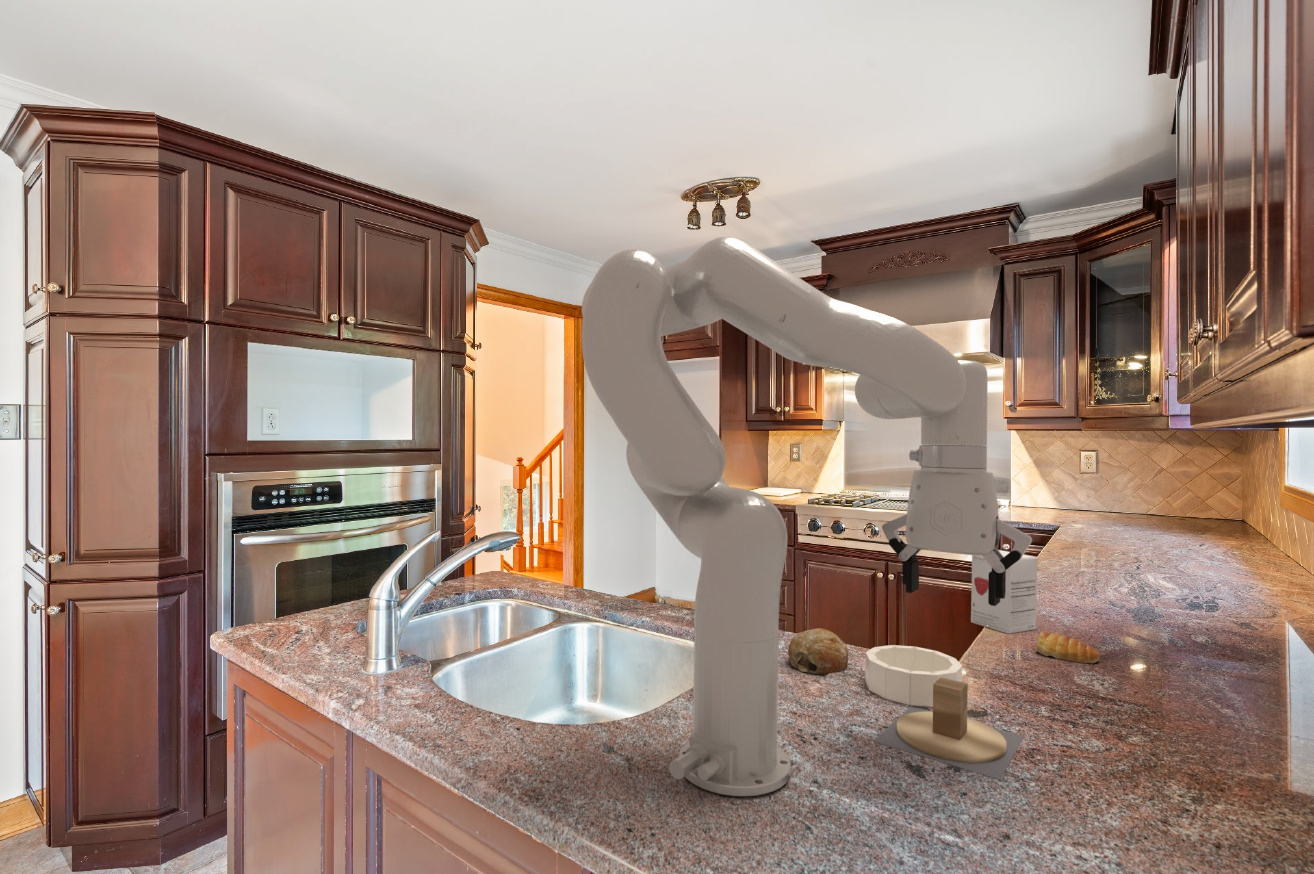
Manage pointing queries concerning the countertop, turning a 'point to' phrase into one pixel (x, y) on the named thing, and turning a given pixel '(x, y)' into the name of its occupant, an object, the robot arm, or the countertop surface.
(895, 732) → the mat
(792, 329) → the robot arm
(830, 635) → the bread roll
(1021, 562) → the supplement box
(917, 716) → the lid
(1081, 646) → the pastry
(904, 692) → the bowl
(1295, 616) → the countertop surface
